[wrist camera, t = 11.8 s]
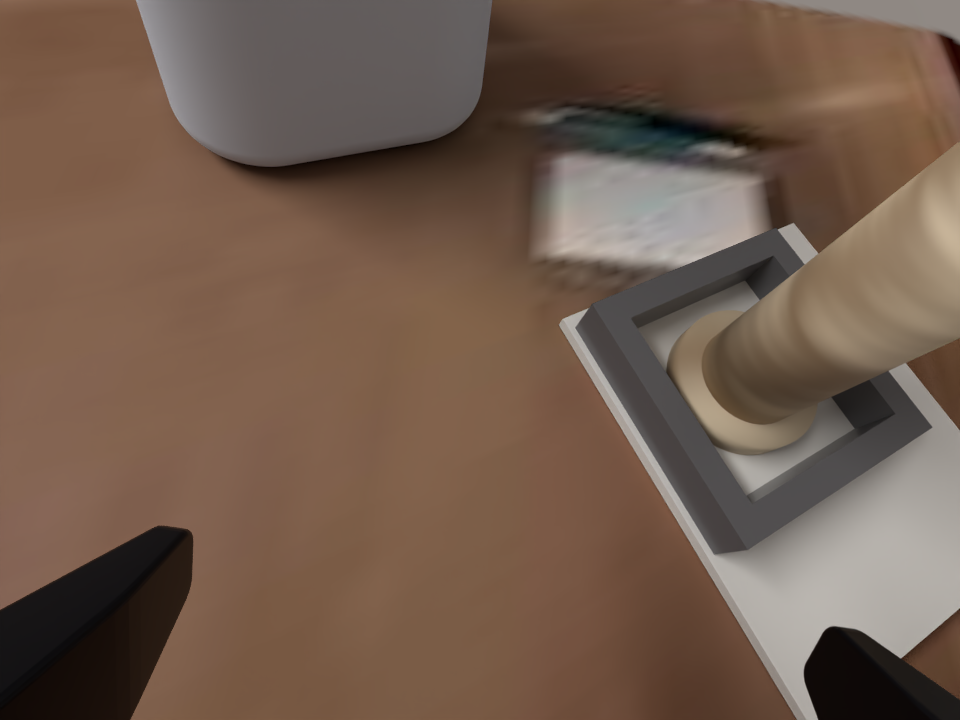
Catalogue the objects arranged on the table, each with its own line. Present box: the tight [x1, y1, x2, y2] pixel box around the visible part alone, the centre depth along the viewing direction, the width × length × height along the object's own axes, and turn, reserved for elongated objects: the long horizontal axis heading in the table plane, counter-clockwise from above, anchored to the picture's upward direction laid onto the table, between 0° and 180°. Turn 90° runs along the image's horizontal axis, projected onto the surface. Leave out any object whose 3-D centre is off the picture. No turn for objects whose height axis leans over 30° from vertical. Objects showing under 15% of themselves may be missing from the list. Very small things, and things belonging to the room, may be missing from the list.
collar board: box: [559, 223, 960, 720], centre depth 24 cm, size 18×15×3 cm
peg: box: [666, 141, 960, 455], centre depth 19 cm, size 6×6×13 cm
